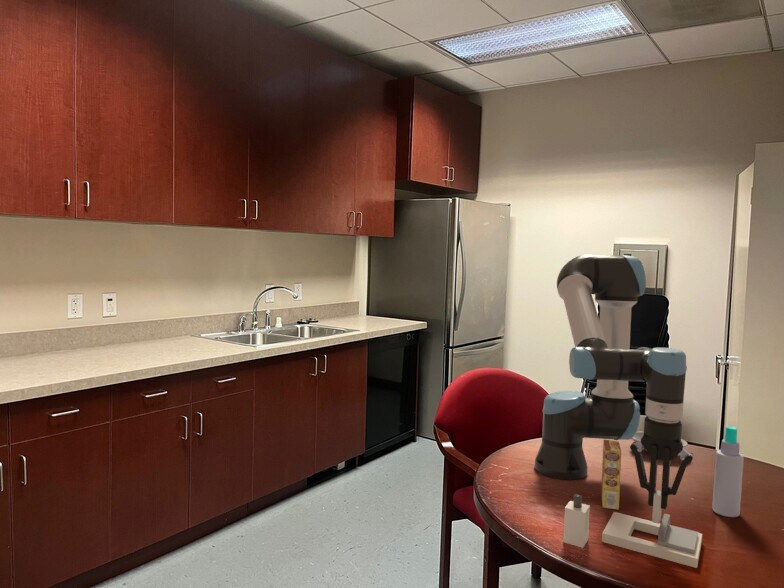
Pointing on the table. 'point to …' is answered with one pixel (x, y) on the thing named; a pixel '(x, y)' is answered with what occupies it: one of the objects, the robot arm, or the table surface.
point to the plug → (576, 522)
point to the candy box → (611, 474)
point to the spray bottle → (728, 476)
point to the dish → (640, 434)
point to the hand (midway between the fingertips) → (656, 520)
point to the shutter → (676, 536)
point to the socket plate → (621, 533)
